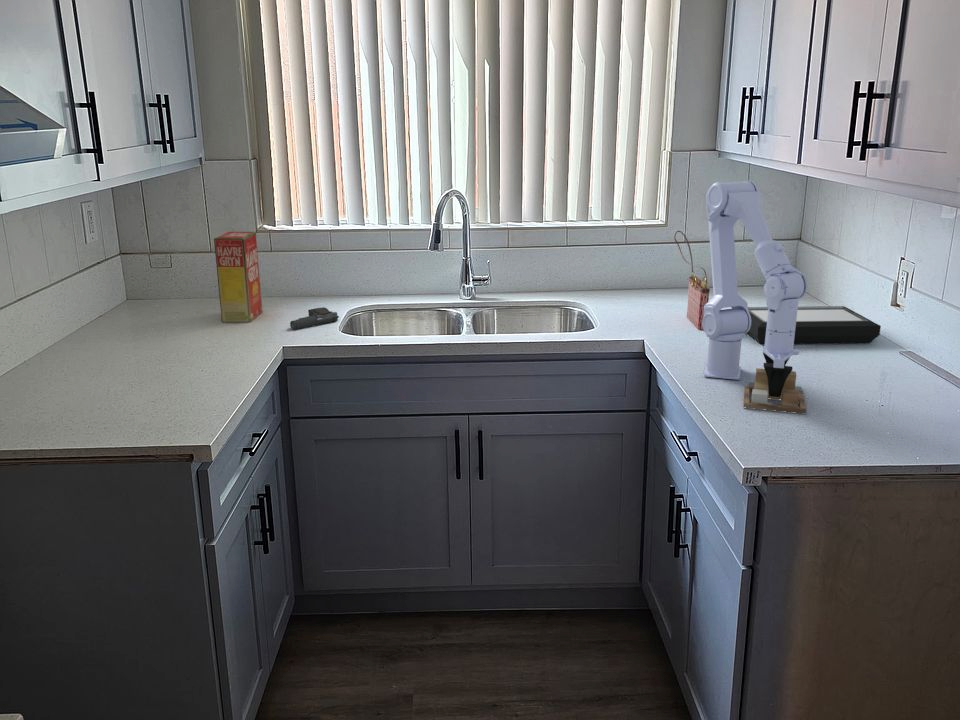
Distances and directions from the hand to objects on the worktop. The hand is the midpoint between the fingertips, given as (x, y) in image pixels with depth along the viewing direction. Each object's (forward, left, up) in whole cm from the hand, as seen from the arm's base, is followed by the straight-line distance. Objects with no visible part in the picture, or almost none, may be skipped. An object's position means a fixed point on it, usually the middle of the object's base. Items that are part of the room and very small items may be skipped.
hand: (774, 390), depth 173 cm
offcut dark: (+5, +3, -2) cm, 7 cm away
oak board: (0, 0, -2) cm, 2 cm away
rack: (+2, 0, -2) cm, 3 cm away
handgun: (-29, -128, -2) cm, 132 cm away
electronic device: (-54, +9, -2) cm, 55 cm away
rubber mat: (-6, 0, -2) cm, 6 cm away
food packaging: (-29, -151, -2) cm, 154 cm away
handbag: (-61, -22, -2) cm, 64 cm away
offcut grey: (+5, -3, -2) cm, 7 cm away
